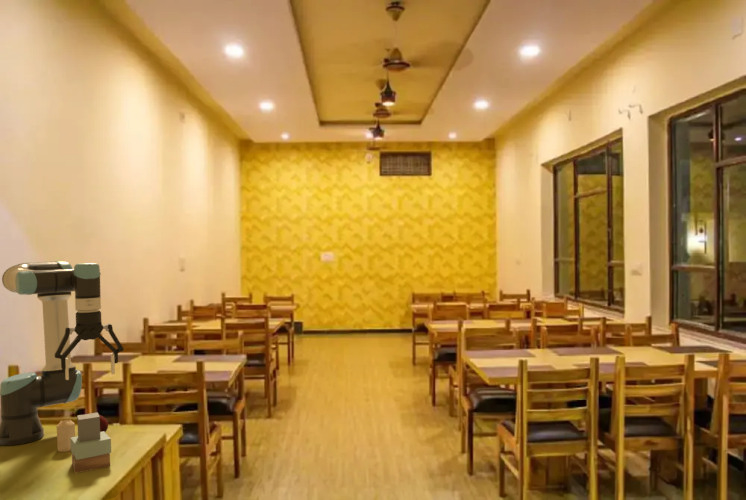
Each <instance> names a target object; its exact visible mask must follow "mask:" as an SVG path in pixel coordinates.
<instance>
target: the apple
mask: <svg viewBox="0 0 746 500" xmlns="http://www.w3.org/2000/svg"><path fill="white" fill-rule="evenodd" d="M99 416H100V432H103V431H104V432H105V433H106V432H107V431H108V428H109V421H108V420H107V419H106V417H104V416H103V415H101V414H99Z"/></svg>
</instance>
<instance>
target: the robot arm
mask: <svg viewBox="0 0 746 500" xmlns="http://www.w3.org/2000/svg"><path fill="white" fill-rule="evenodd" d="M100 270H101V269H100V264H99V263H96V262H86V263H83V262H82V263H81V262H80V263H76V264H75V265H74V266H72V265H71V264H70V262H68V261H41V262H39V261H38V262H23V263H19V264H15V265H11V266H10V267H8V268H7V269H6V270H5V271H4V272H3V274H2V276H1V277H2V278H1V283H2V285H3V287H4V288H5V289H6V290H7V291H9V292H12V293H17V295H21V296H23V295H25V296H30V295H37V299H38V300H39V301H41V303H42V318H43V319H42V320H43V335H44V337H43V338H44V340H43V341H44V352H45V353H44V354H45V355H44V357H45V358H44V359H45V365H44V367H43V368H42V369H41V375H37V373H36V372H34V371H33V372H24V373H19V374H14V375H12V376H8V377H7V378H4V379H3V380H2V381H1V382H0V446H16V445H22V444H27V443H32V442H35V441H38V440H40V439H43V437H44V435H45V434H44V433H45V432H44V427H43V425H42V423H41V420H40V417H39V415H38V413H39V412H38V408H44V407H48V406H49V407H51V406H54V405H59V404H67V403H71V402H74V401H77V400H78V398H79V397H80V396H81V391H82V387H83V386H82V385H83V384H82V382H83V377H82V372H81V370H78V369H76V368H77V367H76V365H75V364H74V363H73V362H72V359H71V356H72V355H71V352H72V351H73V349H75V348H76V347H77V345H78V344H79V343H80V341H88V340H96V339H99V340H100V341H101V342H102V343H103V344H104V345H105V346H107V348H108V349H109V350H111V351H112V353H110V372H111V375H115V374H116V365H115V364H118V362H119V353H120V352H123V351H125V350H124V349H125V348H124V347H123V346H122V344H121V341H120V340H119V339H118V337H117V335H116V333H115V332H114V330H113V324H111V323H107V324H105V325H103V324H102V311H101V309H102V305H101V304H102V303H101V299H102V298H101V296H102V295H101V271H100ZM72 292H74V295H75V296H74V302H75V303H74V304H75V305H74V307H75V311H76V313H75V326H74V327H70V326H69V325H70V324H69V307H68V306H69V305H68V299H70V297H72ZM103 330H105V331H106V332H108V333H109V336H110V337H111V339H112V340H113V342H114V343H115V345H116V347H117V348H115V347H114V345H112V344H111V343H110V342H109V341H108V340H107V339H106V338H105V337H104V336H103V335H102V334H101V333H102V331H103ZM74 332H75V333H76V336H75V338H74V340H73V341H72V342H70V339H71V338H70V335H72V334H73V333H74Z"/></svg>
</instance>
